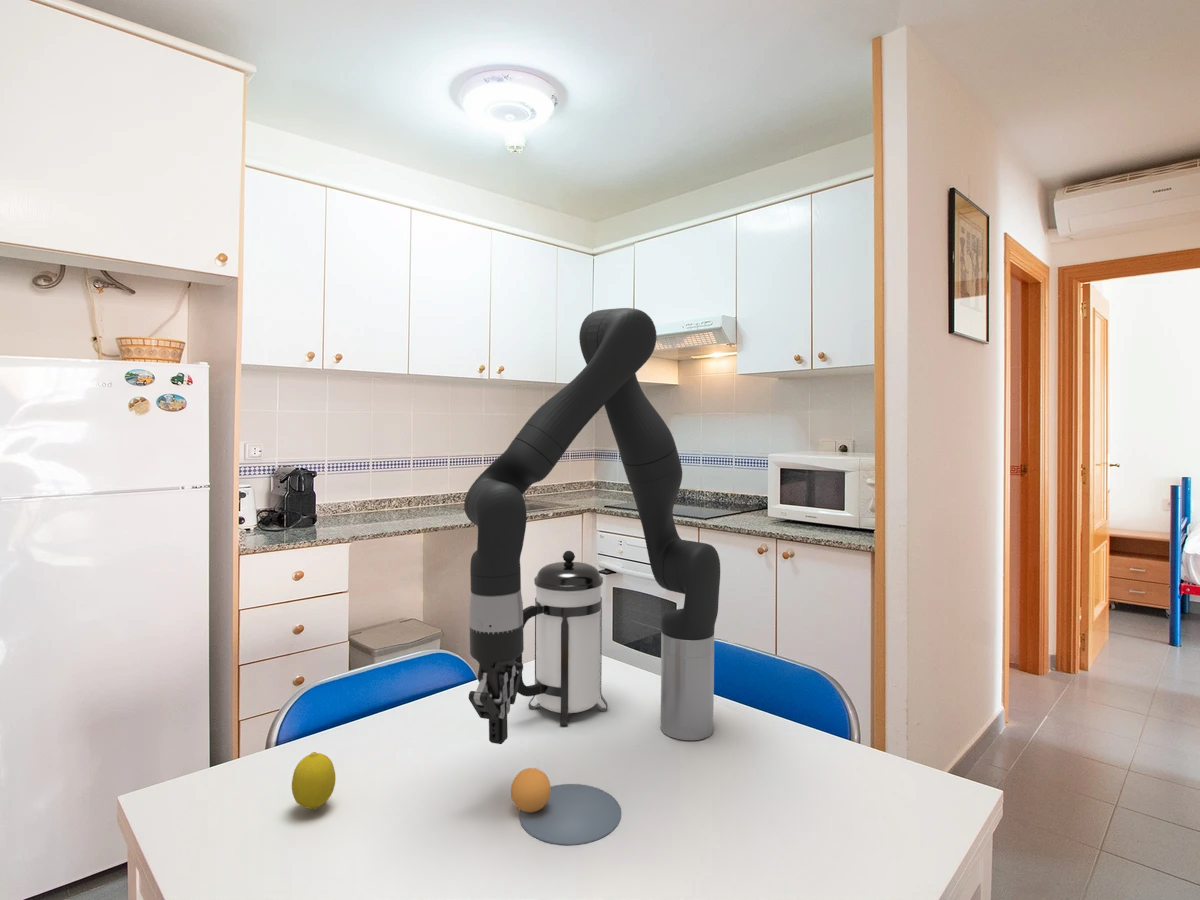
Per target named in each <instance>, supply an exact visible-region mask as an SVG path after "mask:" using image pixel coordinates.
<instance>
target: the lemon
mask: <svg viewBox="0 0 1200 900" xmlns="http://www.w3.org/2000/svg"><path fill="white" fill-rule="evenodd" d="M332 761H333V760H331V758H330V757H328V756H327V755H326V754H323V753H321V752H316V751H313V752H311V753H310V754H308V755H306V756H304V757H303V758H302V759H301V760H300V761H299V762H298V763H297V765H296V766H295V768H294V770H293V774H292V779H291V780H292V781H291V792H292V795H293V798H294V800H295V802H296V803H297V804H298V805H299V806H300V807H302V808H305V809H310V810H312V811H315V810H317V809H318V808H319V807H321V806H323V804H325V803H326V802H327V801H328V800H329V799H330V797H331V796H332V795H333V793H334V791H335V790H334V789H335V786H336V771H335V770H336V769H335V766H334V764H333V762H332Z"/></svg>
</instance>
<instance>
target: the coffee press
mask: <svg viewBox="0 0 1200 900" xmlns="http://www.w3.org/2000/svg"><path fill="white" fill-rule="evenodd" d="M575 558H576V556H575V553H574V552H573V551H572V550H566V551H565V552H563V554H562V559H563V561H559V562H557V561H556V562H554V563H553V562H552V563H549V564H546V565H544V566H543V567H541V568H540V569H539V571H538V572H537V574H536V576H535V577H534V579H533V580H534V581H533V582H534V585H535V587H536V588H535V589H536V590H535V591H536V592H535V593H536V595H535V596H536V597H534V605H530V606H527V607H525V608H523V629H524V628H525V625H526V623H528V621H529V620H530V619H532V618H534V684H530V685H526V684H525V683H524V680H523V673H522V674H521V678H520V683H519V687H518V691H517V694H519V695H520V696H524V697H532V698H531V699H530V700H529V702H528V709H530V710H531V711H533V710H535V709H537V708H538V707H539V706H541V707H542V708H544V709H546V710H548V711H551V712H554V713H558V714H559V713H560V715H559V726H561V727H562V726H563V727H564V726H566V727H568V726H569V716H570V714H574V713H575V714H576V713H580V712H581V713H582V712H585V711H587V710H589V709H592V708H593V707H596V708H597V709H598V710H599V711H600V712H602V713H605V712H606V711H607V710H608V705H609V704H608V702H607V700H606V699H605V698H604V696H603V693H602V692H603V691H602V676H603V675H602V665H603V664H602V654H603V653H602V650H603V649H602V648H603V646H602V644H603V642H602V641H603V640H602V639H603V636H602V635H603V634H602V633H603V632H602V631H603V625H602V623H603V597H602V596H601V595H602V594H601V593H602V585H603V584H604V583H603V582H604V578H603V576H601V574H600V571H599V570H598V568H596V567H595V566H593V565H591V564H589V563H586V562H581V561H574V560H575ZM515 662H517V663H522V664H523V653H522V654H521V655H520V656H519V657H517V658H516V660H515ZM535 697H536V700H537V703H536V704H535V705H532V704H531V702H533V700H534V699H535ZM600 699H601V701H602V702H603V704H604V705H605V707H602V706H601V705H600V704H599V703H598V702H599V701H600Z"/></svg>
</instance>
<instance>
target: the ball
mask: <svg viewBox="0 0 1200 900" xmlns="http://www.w3.org/2000/svg"><path fill="white" fill-rule="evenodd" d="M550 792H551V782H550V779H549V777H548V776H547V775H546V773H545V772H543V771H542V770H541V769H538V768H535V767H528V768H525V769H523V770H521V771H519V772H518V773H517V774H516V776H514V778H513V779H512V782H511V787H510V797H511V799H512V802H513V804H514V806H515V807H516V808H517V809H518V810H519V811H520V810H521V811H524V812H528V813H532V812H536V811H538V810H540V809H542V808H543V807H544V806H545V804H546V803H547V801H548V799H549V797H550Z"/></svg>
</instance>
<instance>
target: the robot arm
mask: <svg viewBox="0 0 1200 900" xmlns="http://www.w3.org/2000/svg"><path fill="white" fill-rule="evenodd" d="M578 337H579V338H578V339H579V346H580V350H581V354H582V356H583V359H584V361H585V364H586V365H585V367H584V368H583V369H582V370H581V371H580V372H579V373H578V374H577V375H576V376H575V378H573V379H572V380H571V381H569V383H567V385H565V386H564V387H563V388H561V389H560V390H559V391H558V392H557V393H556V394H554V395H553V396H552V397H550V398H549V399H548V400H546V402H544V403H543V404H542V405H541V406H540V407H539V408H538V409H537V410H536V411H535V412H534V413H533V414H532V415H531V416H530V418H529V419H528V420H527V421H526V423H525V424H524V425H523V427H522V428H521V429H520V430H519V431H518V433H517V434H516V435H515V437H514V438H513V440H512V441H511V442H510V444H509V446H508V447H507V449H506V450H505V451H504V452H503V453H501V454H500V455H499V457H497V458H496V459H495V460H494V461H493V462H492V463H491V464H490V465H489V466H488V467H487V468H486V469H485V470H484V471H483V472H482V473H480V475H479V476H478V477H477V478H476V479H475V480H474V482H473V483H472V484H471V486H470V487H469V489H468V491H467V492H466V495H465V497H464V503H463V505H464V506H463V507H464V513H465V515H466V517H467V518H468V520H469V521H470V522H471V523H472V524H473V525H474V526H477V542H476V543H477V545H476V546H477V547H476V550H475V551H474V552H472V553H473V554H472V555H471V557H470V569H469V570H470V573H469V574H470V597H469V598H470V599H469V607H468V609H469V611H468V612H469V613H468V615H469V616H468V617H469V654H470V656H471V658H472V659H474V660H475V661H476V662H478V664H479V665H478V672H477V681H478V682H479V683H478V685H477V688H476V690H475V691H474V690H470V691H469V694H468V700H469V702H470V703H471V705H472V707H473V708H474V710H475V712H476V713H477V716H478V717H479V718H481V719H485V720H488V740H489V742H490V743H492V744H497V745H503V743H505V741H506V740H507V739H508V735H509V734H508V714H510V711H511V705H514V704H515V702H516V698H517V694H518V692H517V691H518V687H519V683H520V678H521V674H522V675H523V671H524V664H523V662H522V663H517V662H515V660H516V658H517V657H519V656H520V655H521V654H522V655H523V652H524V648H525V647H524V643H525V641H524V628H523V610H524V605H523V603H524V602H523V596H522V585H521V584H522V582H521V579H522V578H521V572H522V571H521V556H522V555H521V554H522V552H523V546H524V541H525V535H526V528H527V518H528V514H527V506H526V502H525V501H526V500H525V498H524V496H523V495H524V494H525V493H526V491H528V490H529V488H530V487H531V486H532V485H534V484H536V483H538V482H541V481H543V480H544V479H546V477H547V476H548V475H549V474H550V473H551V472H552V470H553V469H554V468H555V466H556V465H557V463H558V462H559V461H560V459H561V458H562V457H563V456H564V454H565V453H566V452H567V449H568V448H569V447H570V445H571V444H572V443H573V442H574V440H575V438H576V437H578V435H579V433H580V432H581V431H582V430H583V429H584V427H585V426H586V425H587V424H588V423H589V421H591V420H592V418H593V417H594V416H595V415H596V414H597V413H598V412H599V411H600V410H601V409H602V408H603V406H604V409H605V412H606V415H607V418H608V421H609V424H610V428H611V431H612V433H613V437H614V439H615V441H616V445H617V449H618V452H619V455H620V460H621V463H622V465H623V469H624V472H625V475H626V479H627V481H628V483H629V486H630V488H631V492H632V495H633V499H634V501H635V505H636V508H637V512H638V517H639V519H640V522H641V526H642V531H643V536H644V540H645V544H646V551H647V555H648V560H649V566H650V569H651V573H652V576H653V577H654V580H655V582H656V583H657V585H658V586H660V587H661V588H662V589H665V590H667V591H670V592H674V593H679V594H683V595H684V603H683V608H679V609H673V610H670V611H667V612H665V613H664V614H663V616H662V617H661V621H660V622H661V625H660V626H661V629H660V630H661V631H660V632H661V633H660V635H661V637H660V638H661V639H660V643H661V645H660V649H661V650H660V651H661V652H660V730H661V731H662V732H663V733H664V734H665V735H667V736H668V737H671V738H673V739H675V740H676V739H677V740H681V741H699V740H703V739H707V738H709V737H710V736H712V734H713V732H714V707H715V706H714V701H715V700H714V699H715V698H714V697H715V695H714V693H715V692H714V691H715V689H714V688H715V625H716V622H717V619H718V615H719V614H718V613H719V602H720V601H719V600H720V585H721V584H720V583H721V559H720V556H719V553H718V551H717V549H716V548H715V547H714V546H713V545H712V544H709V543H705V542H701V541H700V542H699V541H693V540H687V539H686V540H685V539H682V538H681V537H680V535H679V533H678V531H677V528H676V524H675V519H674V514H673V512H674V511H673V510H674V507H675V504H676V503H675V502H676V499H677V497H678V495H679V494H678V493H679V491H680V489H681V488H680V487H681V484H682V480H683V467H682V463H681V460H680V459H681V458H680V456H679V451H678V448H677V445H676V442H675V439H674V436H673V433H672V432H671V430H670V429H669V427H668V425H667V424H666V422H665V421H664V419H663V417H662V416H661V415H660V414H659V412H658V410H657V409H656V408H655V407H654V406H653V404H652V403H651V402H650V401H649V399H648V397H647V396H646V394H645V393H644V391H643V390H642V387H641V385H640V383H639V380H638V377H637V374H636V373H637V372H638V371H639V370H640V369H641V368H642V367H643V366H644V365H645V364H646V363H647V362H648V360H649V359H650V358H651V356H652V354H653V353H654V351H655V348H656V344H657V338H658V337H657V330H656V326H655V324H654V321H653V320H652V318H651V317H650V315H649V314H648V313H646V312H644V311H643V310H641V309H637V308H631V307H619V308H617V307H616V308H608V309H605V308H604V309H599V310H595V311H592V312H591V313H589V314H588V315H586V317H585V318H584V320H583V322H582V323H581V326H580V329H579V336H578Z"/></svg>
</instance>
